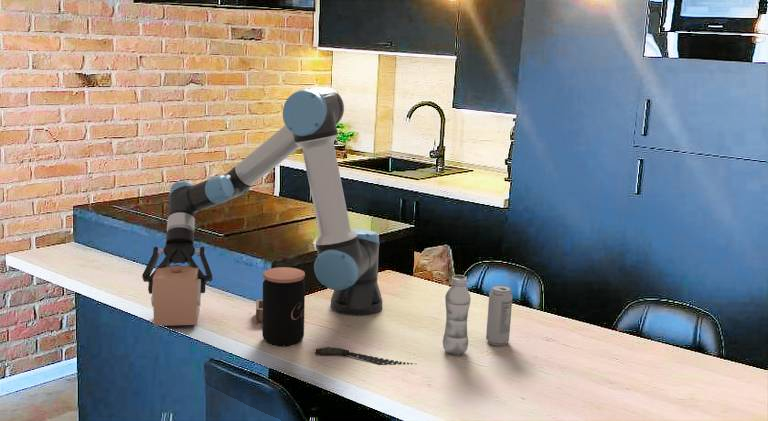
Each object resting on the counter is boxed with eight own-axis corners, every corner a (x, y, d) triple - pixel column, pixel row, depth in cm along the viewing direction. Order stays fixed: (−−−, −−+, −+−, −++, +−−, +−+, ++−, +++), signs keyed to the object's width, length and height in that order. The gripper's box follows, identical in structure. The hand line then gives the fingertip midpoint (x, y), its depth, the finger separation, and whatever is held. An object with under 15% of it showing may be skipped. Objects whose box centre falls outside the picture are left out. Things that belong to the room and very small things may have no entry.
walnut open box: (291, 312, 227) (291, 299, 226) (292, 322, 220) (293, 309, 219) (256, 313, 226) (256, 299, 225) (256, 323, 218) (256, 309, 217)
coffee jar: (296, 349, 201) (297, 281, 198) (256, 344, 203) (256, 277, 200) (309, 334, 212) (310, 269, 208) (270, 330, 214) (271, 265, 210)
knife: (423, 377, 191) (427, 367, 196) (423, 370, 191) (427, 361, 196) (312, 358, 198) (318, 349, 202) (312, 352, 197) (318, 343, 202)
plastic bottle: (451, 359, 199) (455, 282, 195) (437, 349, 205) (441, 274, 201) (472, 355, 202) (477, 279, 198) (458, 345, 208) (462, 272, 204)
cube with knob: (199, 310, 223) (199, 260, 219) (196, 324, 212) (196, 272, 209) (158, 311, 221) (157, 260, 218) (153, 325, 210) (152, 272, 207)
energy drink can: (495, 336, 216) (499, 283, 212) (513, 343, 212) (517, 288, 208) (481, 341, 212) (484, 287, 208) (499, 348, 207) (503, 293, 204)
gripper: (223, 239, 229) (221, 309, 218) (138, 239, 225) (132, 310, 214) (222, 225, 223) (220, 297, 211) (135, 225, 219) (128, 298, 208)
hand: (176, 303), depth 213 cm, fingers closed on cube with knob, 11 cm apart
